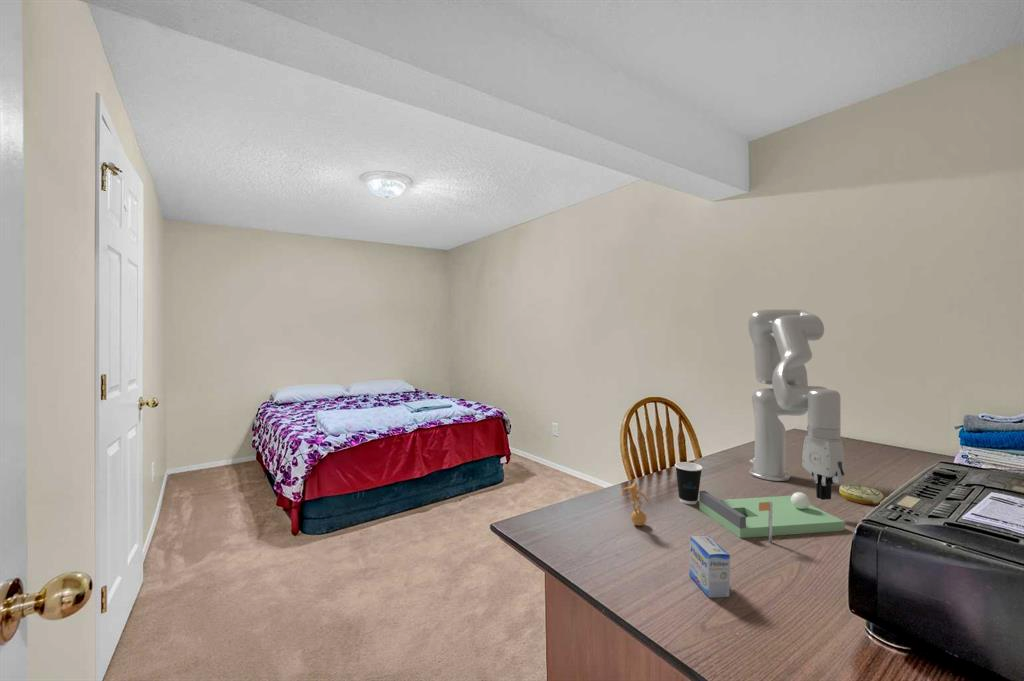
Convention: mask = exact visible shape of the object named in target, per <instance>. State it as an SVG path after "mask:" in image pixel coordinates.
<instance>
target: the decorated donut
mask: <svg viewBox="0 0 1024 681" xmlns="http://www.w3.org/2000/svg"><path fill="white" fill-rule="evenodd" d="M838 491H839V492H838V493H839V494H840V496H841V497H842V498H844V499H845V500H847V501H849V502H853V503H856V504H861V505H869V506H870V505H873V506H878V505H880V504H879V503H880V502H881V501H882V500H883V501H884V497H885V496H884V494H883V493H882V492H881V491H880V490H878V489H875V488H872V487H869V486H865V485H860V484H852V483H845V484H841V485H840V486H839V488H838Z"/></svg>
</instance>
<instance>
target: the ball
mask: <svg viewBox="0 0 1024 681" xmlns="http://www.w3.org/2000/svg"><path fill="white" fill-rule="evenodd" d="M790 496H791V502H792V504H793V505H794V506H795V507H796V508H798V509H806V508H808V507H809V505H811V500H810V497H809V496H808V495H807V494H805V493H804V492H801V491H797V492H794V493H793V494H792V495H790Z"/></svg>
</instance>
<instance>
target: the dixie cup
mask: <svg viewBox="0 0 1024 681" xmlns="http://www.w3.org/2000/svg"><path fill="white" fill-rule="evenodd" d="M674 467H675V471H676V472H675V474H676V482H677V489H678V490H677V491H678V498H679V501H680V502H681V503H682V504H685V505H696V504H697V503H698V500H699V495H700V486H701V477H702V470H703V466H702V465H701V464H698V463H695V462H688V461H680V462H679V461H678V462H676V463H675V464H674Z"/></svg>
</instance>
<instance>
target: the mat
mask: <svg viewBox="0 0 1024 681" xmlns="http://www.w3.org/2000/svg"><path fill="white" fill-rule="evenodd" d="M791 496H792V495H781V496H778V495H777V496H763V497H749V498H748V497H747V498H727V499H719V498H717V497H716V496H714V495H712V494H711V493H709V492H708V491H706V490H699V494H698V500H699V505H698V506H699V508H698V509H699V510H700V511H701V512H703V513H704V514H705V515H707V516H708V517H710V518H711V519H712V520H713V521H715V522H717V523H718V524H719V525H721V526H722V527H724V528H725V529H726V530H728V531H729V532H731V533H732V534H733V535H735V536H737V538H739V539H745V538H746V539H747V538H759V537H768V521H769V510H768V511H759V503H761V502H769V501H770V502H772V537H774V536H775V537H776V536H786V535H787V536H788V535H799V534H800V535H802V534H814V533H828V532H843V530H846V528H845V527H846V521H845V520H842V519H840V518H839V517H836V516H835V515H833V514H831V513H828V512H826V511H824V510H822V509H820V508H819V507H817V506H814V505H812V504H810V505H809V507H808V508H806V509H798V508H796V507H795V506H794V505H793V504H792V502H791Z"/></svg>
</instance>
